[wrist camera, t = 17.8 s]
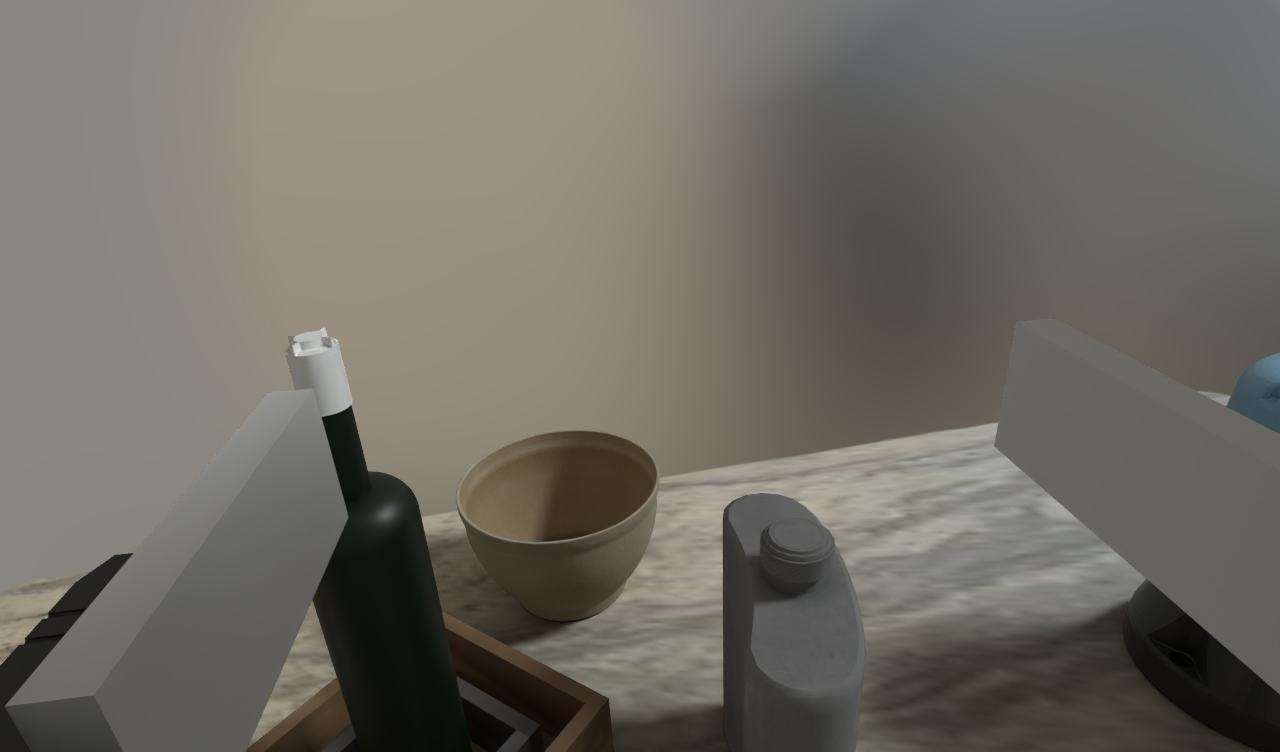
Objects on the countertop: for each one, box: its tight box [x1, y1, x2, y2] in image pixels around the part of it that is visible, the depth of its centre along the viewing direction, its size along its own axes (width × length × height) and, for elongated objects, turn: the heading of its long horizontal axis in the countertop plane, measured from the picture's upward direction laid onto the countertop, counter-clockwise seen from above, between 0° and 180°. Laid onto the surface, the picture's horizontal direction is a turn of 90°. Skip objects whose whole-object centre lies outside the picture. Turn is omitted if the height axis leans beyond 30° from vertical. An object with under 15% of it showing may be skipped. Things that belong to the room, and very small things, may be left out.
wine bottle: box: [285, 328, 473, 752], centre depth 37 cm, size 6×6×30 cm
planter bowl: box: [456, 429, 659, 621], centre depth 59 cm, size 16×16×11 cm
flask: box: [723, 493, 866, 752], centre depth 38 cm, size 15×6×20 cm, turn 179°
